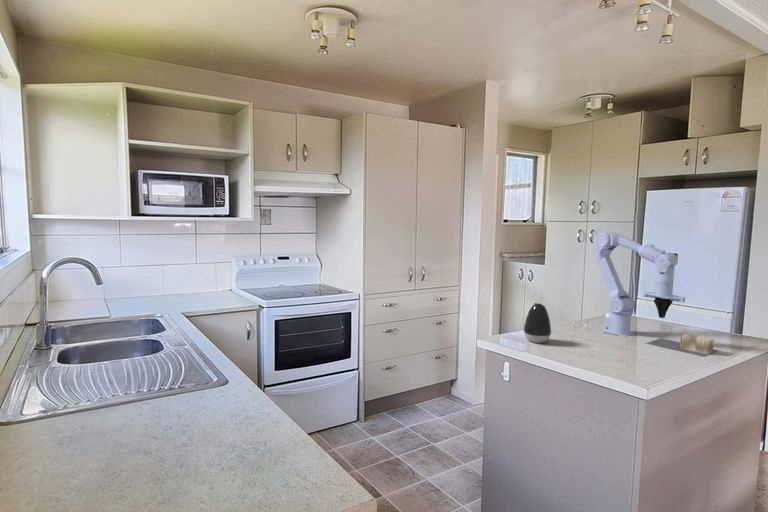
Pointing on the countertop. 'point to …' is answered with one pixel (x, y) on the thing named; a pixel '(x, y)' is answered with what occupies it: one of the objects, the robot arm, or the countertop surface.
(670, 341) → the mat
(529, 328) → the black egg shape
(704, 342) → the block
